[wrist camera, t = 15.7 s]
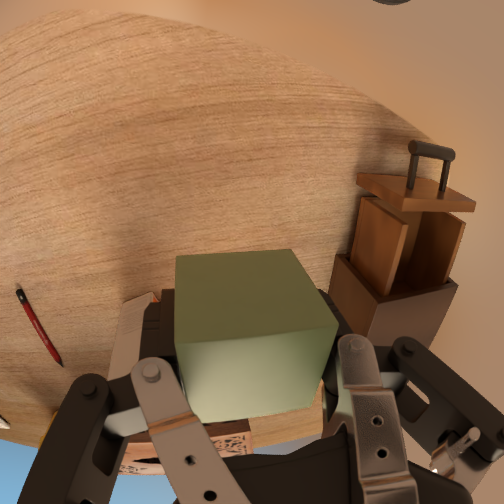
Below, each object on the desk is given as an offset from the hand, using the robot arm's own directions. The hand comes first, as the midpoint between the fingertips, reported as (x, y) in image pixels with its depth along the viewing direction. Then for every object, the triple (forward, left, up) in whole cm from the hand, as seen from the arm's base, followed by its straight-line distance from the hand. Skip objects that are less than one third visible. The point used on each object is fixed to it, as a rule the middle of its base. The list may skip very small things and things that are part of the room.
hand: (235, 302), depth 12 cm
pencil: (+24, -16, -17) cm, 34 cm away
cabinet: (+8, +25, -17) cm, 31 cm away
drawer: (-4, +21, -16) cm, 27 cm away
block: (0, 0, 0) cm, 0 cm away
